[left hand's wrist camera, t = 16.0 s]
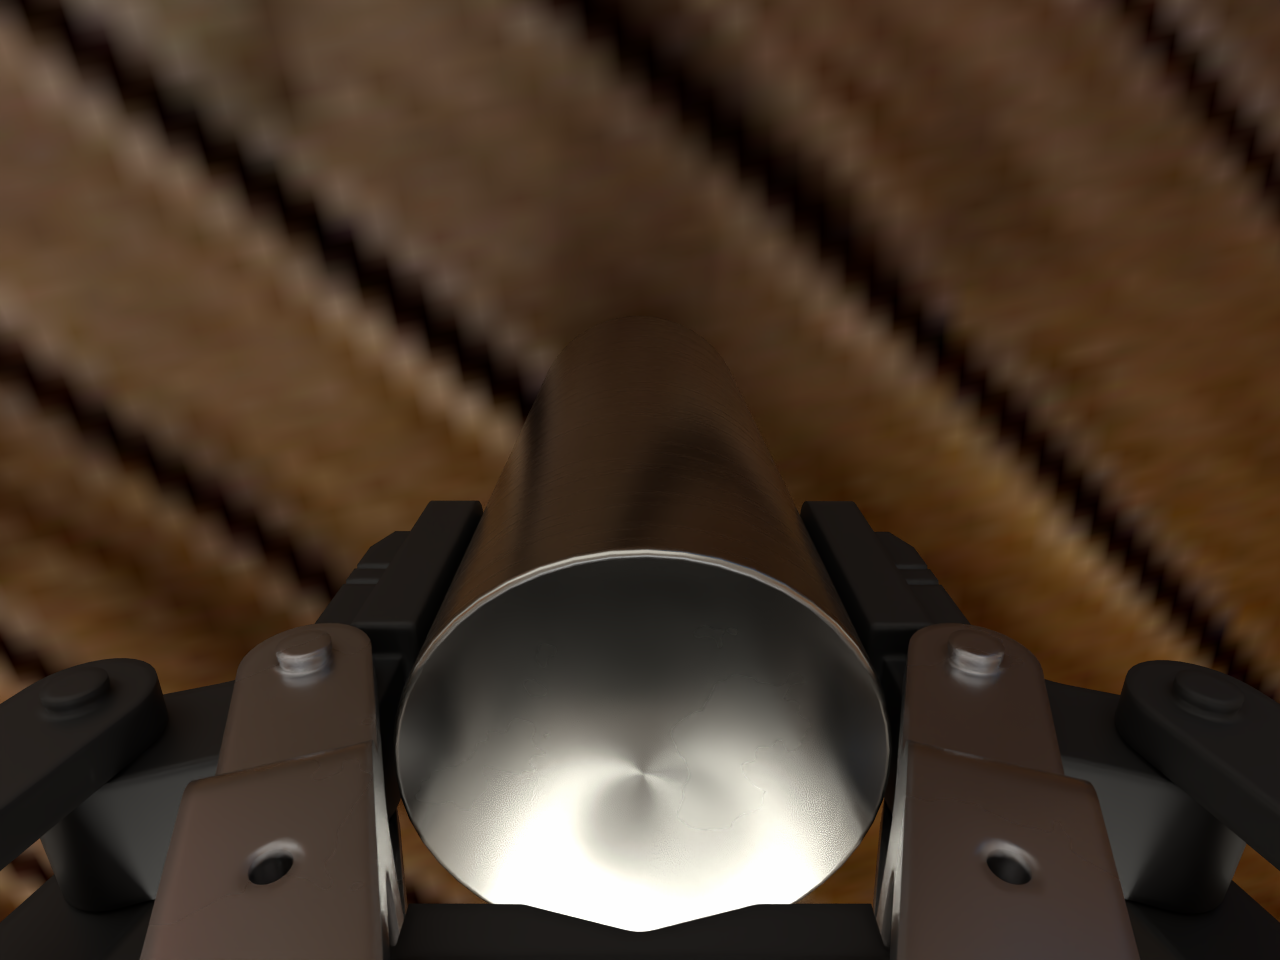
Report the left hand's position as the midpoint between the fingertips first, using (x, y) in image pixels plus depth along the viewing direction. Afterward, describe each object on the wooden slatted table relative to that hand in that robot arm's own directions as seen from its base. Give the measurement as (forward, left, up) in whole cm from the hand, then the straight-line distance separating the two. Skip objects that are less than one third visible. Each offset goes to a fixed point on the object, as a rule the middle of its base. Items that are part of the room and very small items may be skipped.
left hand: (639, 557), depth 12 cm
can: (0, 0, -7) cm, 7 cm away
